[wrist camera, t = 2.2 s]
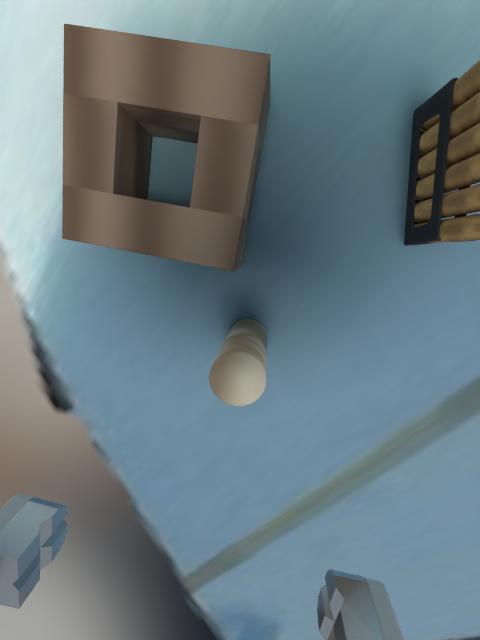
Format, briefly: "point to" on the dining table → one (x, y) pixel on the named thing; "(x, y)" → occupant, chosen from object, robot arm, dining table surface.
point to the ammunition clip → (446, 164)
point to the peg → (241, 364)
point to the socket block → (168, 122)
